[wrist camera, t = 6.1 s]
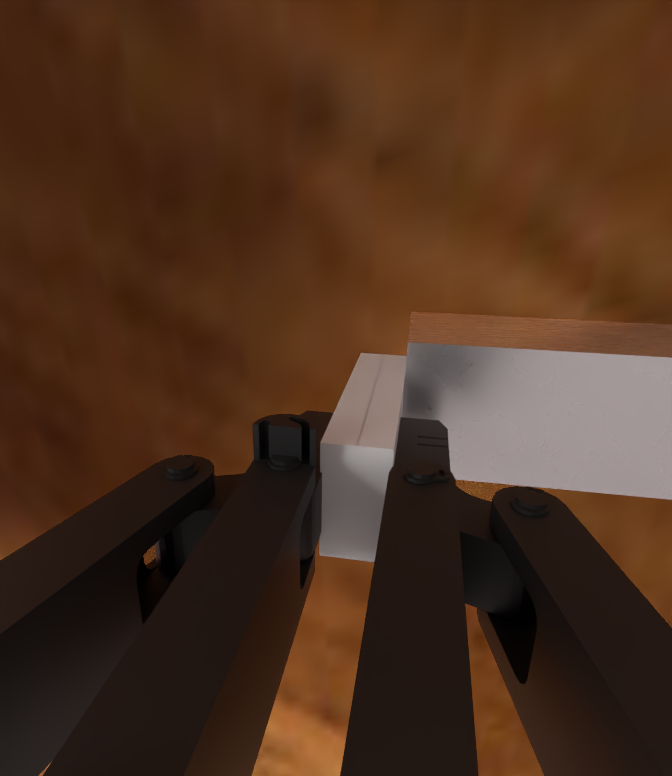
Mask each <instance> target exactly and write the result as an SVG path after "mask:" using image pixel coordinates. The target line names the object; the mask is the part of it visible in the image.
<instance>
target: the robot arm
mask: <svg viewBox="0 0 672 776" xmlns="http://www.w3.org/2000/svg"><path fill="white" fill-rule="evenodd" d="M406 359H407V356H402V355H386V354H371V353H361V354H360V356H359V358H358V360H357V363H356V365H355V367H354V369H353V371H352V374H351V376H350V378H349V380H348V382H347V385H346V387H345V389H344V391H343V394H342V396H341V398H340V400H339V402H338V405H337V407H336V409H335V411H334V413H329V412H317V411H306V412H304V413H303V414H301V415H293V414H277V415H271V416H267V417H264V418H261V419H258V420H257V421H256V422H255V423H253V445H254V461H253V462H252V464H251V465H250V467H249V468H248V470H247V471H246V473H243V474H236V475H224V476H214V465H213V464H212V463H211V462H210V460H207V459H205V458H202V457H198V456H192V455H184V456H183V455H178V456H175V457H172V458H168V459H164V460H162V461H160V462H158V463H156V464H154V465H152V466H151V467H149V468H148V469H146V470H144V471H143V472H141V473H140V474H138V475H136V476H135V477H133V478H132V479H130V480H128V481H127V482H125V483H124V484H122V485H120V486H119V487H117V488H116V489H114V490H112V491H111V492H109V493H108V494H106V495H104V496H103V497H101V498H100V499H98V500H96V501H95V502H93V503H92V504H90V505H89V506H87V507H85V508H84V509H82V510H81V511H79V512H77V513H76V514H74V515H73V516H71V517H69V518H68V519H66V520H65V521H63V522H61V523H60V524H58V525H57V526H55V527H53V528H52V529H50V530H49V531H47V532H45V533H44V534H42V535H41V536H39V537H37V538H36V539H34V540H33V541H31V542H30V543H28V544H26V545H25V546H23V547H22V548H20V549H18V550H17V551H15V552H14V553H12V554H10V555H9V556H7V557H6V558H4V559H2V560H1V561H0V776H38V775H39V774H40V773H41V772H42V771H43V770H44V769H45V768H46V767H47V766H48V765H49V764H50V763H51V762H52V763H51V764H50V765H49V767H48V768H47V770H46V771H45V773H44V774H43V776H251V775H252V772H253V769H254V765H255V762H256V759H257V756H258V752H259V749H260V746H261V743H262V740H263V736H264V733H265V730H266V727H267V723H268V720H269V717H270V714H271V710H272V707H273V704H274V701H275V698H276V694H277V691H278V688H279V685H280V681H281V678H282V675H283V672H284V668H285V665H286V662H287V659H288V656H289V652H290V649H291V646H292V643H293V639H294V636H295V633H296V630H297V626H298V623H299V620H300V617H301V614H302V610H303V607H304V604H305V601H306V597H307V594H308V591H309V588H310V584H311V581H312V578H313V575H314V572H315V549H316V546H317V543H318V540H319V555H321V556H329V557H337V558H345V559H353V560H361V561H369V562H374V568H373V575H372V581H371V587H370V593H369V600H368V606H367V612H366V618H365V625H364V631H363V637H362V643H361V650H360V656H359V662H358V668H357V675H356V681H355V687H354V693H353V700H352V706H351V712H350V718H349V725H348V731H347V737H346V743H345V750H344V756H343V762H342V768H341V775H340V776H478V764H477V751H476V739H475V726H474V713H473V700H472V687H471V675H470V662H469V649H468V636H467V623H466V610H465V603H466V604H469V605H471V606H474V607H477V614H478V620H479V623H480V625H481V628H482V630H483V632H484V635H485V637H486V639H487V642H488V644H489V646H490V649H491V651H492V653H493V656H494V658H495V660H496V663H497V665H498V668H499V670H500V672H501V675H502V677H503V679H504V682H505V684H506V686H507V689H508V691H509V693H510V696H511V698H512V700H513V703H514V705H515V708H516V710H517V712H518V715H519V717H520V719H521V722H522V724H523V726H524V729H525V731H526V733H527V736H528V738H529V740H530V743H531V745H532V747H533V750H534V752H535V755H536V757H537V759H538V762H539V764H540V766H541V769H542V771H543V773H544V776H672V628H671V627H670V626H669V625H668V623H667V622H666V621H665V620H664V619H663V618H662V616H661V615H660V614H659V613H658V612H657V611H656V609H655V608H654V607H653V606H652V605H651V604H650V602H649V601H648V600H647V599H646V598H645V597H644V596H643V594H642V593H641V592H640V591H639V590H638V589H637V587H636V586H635V585H634V584H633V583H632V582H631V580H630V579H629V578H628V577H627V576H626V575H625V573H624V572H623V571H622V570H621V569H620V568H619V566H618V565H617V564H616V563H615V562H614V561H613V560H612V558H611V557H610V556H609V555H608V554H607V553H606V551H605V550H604V549H603V548H602V547H601V546H600V544H599V543H598V542H597V541H596V540H595V539H594V537H593V536H592V535H591V534H590V533H589V532H588V530H587V529H586V528H585V527H584V526H583V525H582V524H581V522H580V521H579V520H578V519H577V518H576V517H575V515H574V514H573V513H572V512H571V511H570V510H569V508H568V507H567V506H566V505H565V504H564V503H563V502H562V501H560V500H559V499H558V498H557V497H555V496H553V495H551V494H549V493H547V492H544V491H543V490H540V489H537V488H536V489H534V488H533V487H518V486H515V487H508V488H503V489H501V490H499V491H497V492H496V493H495V495H494V497H493V499H492V502H490V501H487V500H483V499H480V498H477V497H474V496H471V495H469V494H467V493H466V492H464V491H462V490H461V489H459V488H458V487H457V486H456V482H455V478H454V475H453V473H452V472H451V471H450V457H449V442H448V429H447V428H446V427H445V426H444V425H443V424H442V423H441V422H440V421H439V420H430V419H418V418H406V417H403V404H404V389H405V374H406ZM153 545H155V554H156V558H155V559H154V560H153V561H151V562H150V563H149V564H147V565H145V563H144V558H143V555H144V554H145V553H146V551H147V550H148V549H149V548H150V547H152V546H153ZM53 759H54V760H53ZM52 760H53V761H52Z"/></svg>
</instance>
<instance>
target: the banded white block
mask: <svg viewBox="0 0 672 776" xmlns="http://www.w3.org/2000/svg"><path fill="white" fill-rule="evenodd" d="M403 417H406V418H418V419H430V420H439V421H440V422H441V423H442V424H443V425H444V426H445V427H446V428H447V429H448V442H449V457H450V471H451V472H452V473H453V475H454V478H455V479H456V480H466V481H477V482H488V483H498V484H509V485H520V486H530V487H541V488H552V489H562V490H573V491H584V492H595V493H605V494H616V495H627V496H637V497H648V498H659V499H669V500H672V325H670V324H650V323H630V322H610V321H590V320H570V319H550V318H530V317H510V316H490V315H470V314H450V313H430V312H411V319H410V327H409V335H408V343H407V359H406V374H405V389H404V404H403Z"/></svg>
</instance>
